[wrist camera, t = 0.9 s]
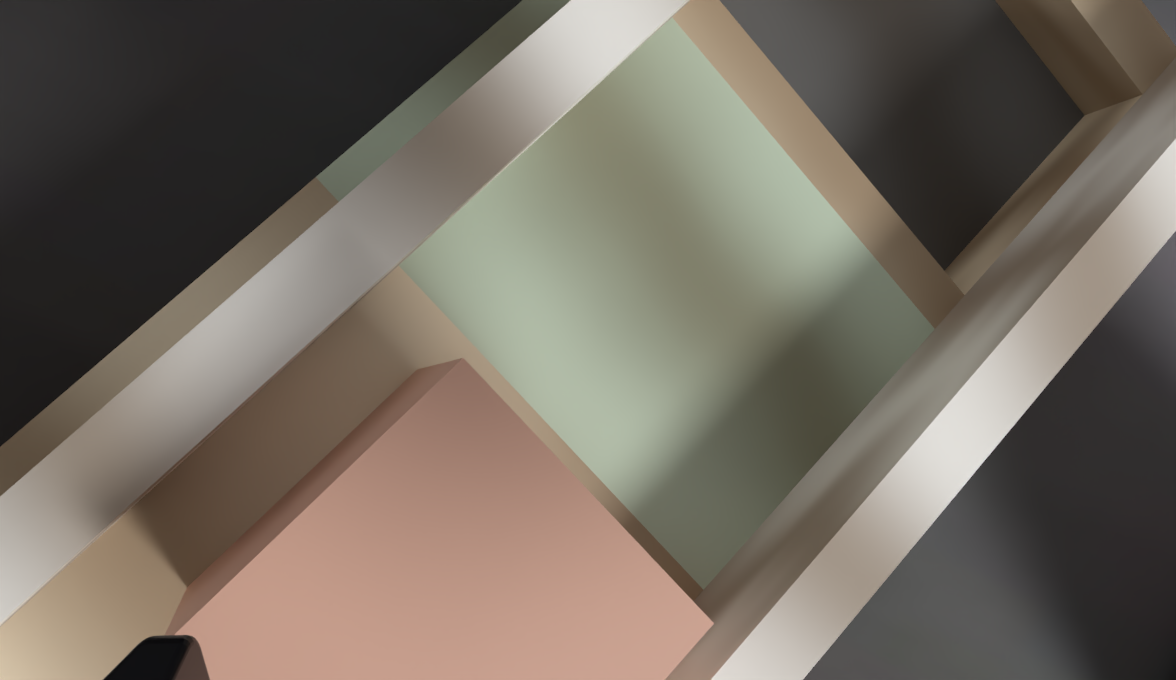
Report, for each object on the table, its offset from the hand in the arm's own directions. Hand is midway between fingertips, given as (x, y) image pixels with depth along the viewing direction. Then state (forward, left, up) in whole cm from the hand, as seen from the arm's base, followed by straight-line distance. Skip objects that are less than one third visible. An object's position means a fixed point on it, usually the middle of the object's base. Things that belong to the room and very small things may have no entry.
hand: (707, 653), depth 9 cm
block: (-2, +1, -9) cm, 9 cm away
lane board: (+3, +1, -11) cm, 12 cm away
